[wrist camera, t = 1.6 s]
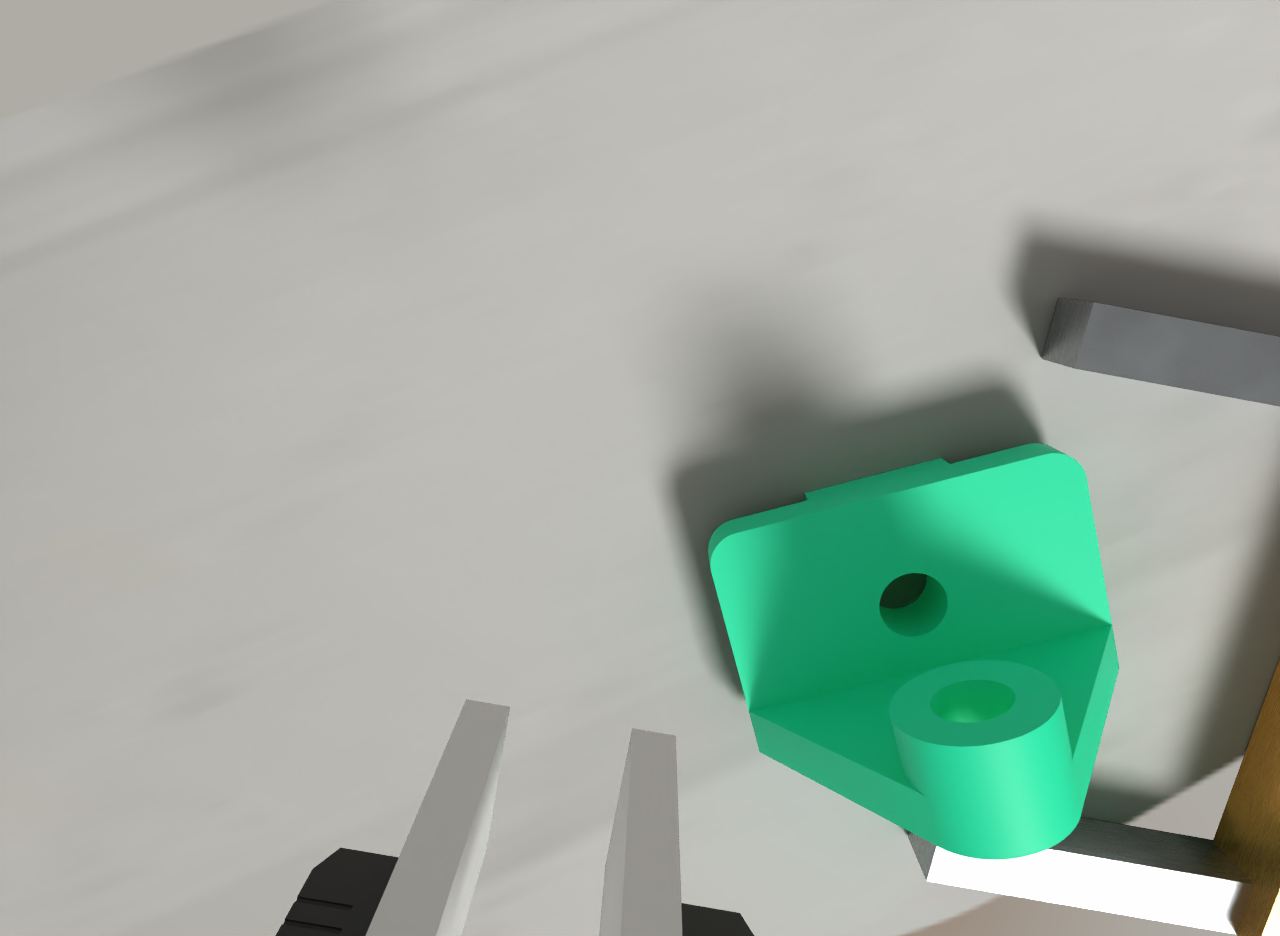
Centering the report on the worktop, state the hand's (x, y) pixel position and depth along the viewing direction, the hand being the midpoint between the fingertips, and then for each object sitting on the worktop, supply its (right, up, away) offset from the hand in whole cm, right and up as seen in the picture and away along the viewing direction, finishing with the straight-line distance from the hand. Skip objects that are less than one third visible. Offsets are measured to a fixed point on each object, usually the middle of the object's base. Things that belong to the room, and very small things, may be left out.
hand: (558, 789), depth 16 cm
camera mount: (+10, +2, +17) cm, 20 cm away
